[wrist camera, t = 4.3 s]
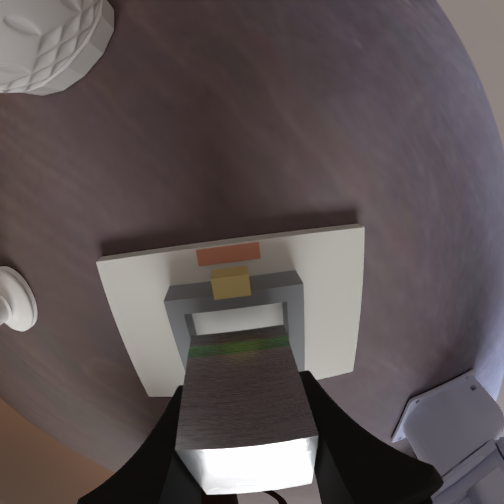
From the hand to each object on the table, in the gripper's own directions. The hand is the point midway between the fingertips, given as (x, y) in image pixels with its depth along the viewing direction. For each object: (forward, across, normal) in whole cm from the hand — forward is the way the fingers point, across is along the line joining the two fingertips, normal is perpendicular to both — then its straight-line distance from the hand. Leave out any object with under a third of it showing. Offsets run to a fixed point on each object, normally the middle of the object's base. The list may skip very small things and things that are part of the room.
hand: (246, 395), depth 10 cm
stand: (+6, 0, 0) cm, 6 cm away
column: (+2, 0, 0) cm, 2 cm away
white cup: (+6, +8, -18) cm, 21 cm away
